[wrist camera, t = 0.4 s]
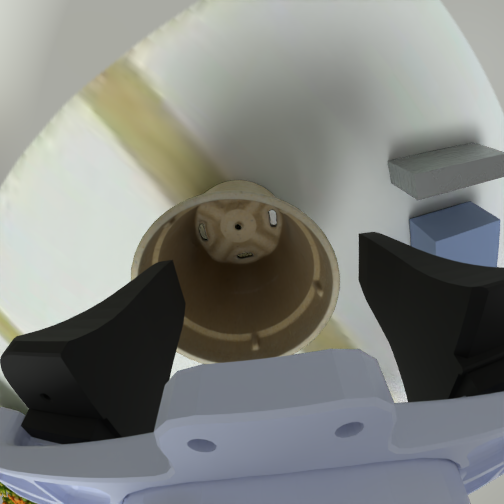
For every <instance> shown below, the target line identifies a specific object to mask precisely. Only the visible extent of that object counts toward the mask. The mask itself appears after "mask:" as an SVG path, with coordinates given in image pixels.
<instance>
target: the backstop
mask: <svg viewBox="0 0 504 504" xmlns="http://www.w3.org/2000/svg"><path fill="white" fill-rule="evenodd" d="M388 166H389V172H390V178H391V183H392V184H394V185H395V186H397V187H398V188H400V189H401V190H403V191H404V192H406V193H407V194H409V195H410V196H412V197H413V198H415V199H416V200H421V199H425V198H428V197H432V196H435V195H439V194H443V193H446V192H450V191H454V190H457V189H461V188H465V187H468V186H472V185H475V184H479V183H483V182H486V181H490V180H494V179H497V178H501V177H504V152H502V151H499V150H496V149H493V148H489V147H486V146H483V145H480V144H477V143H469V144H464V145H459V146H454V147H449V148H444V149H440V150H435V151H430V152H426V153H421V154H417V155H412V156H408V157H403V158H399V159H395V160H391V161H388Z"/></svg>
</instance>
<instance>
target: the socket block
mask: <svg viewBox="0 0 504 504" xmlns="http://www.w3.org/2000/svg"><path fill="white" fill-rule="evenodd" d="M409 222H410V233H411V246H412V247H414V248H416V249H419V250H422V251H424V252H427V253H430V254H433V255H436V256H439V257H443V258H446V259H450V260H453V261H458V262H462V263H468V264H473V265H480V266H488V267H497V259H498V248H499V234H500V219H498V218H497V217H495V216H494V215H492V214H490V213H489V212H487V211H486V210H484V209H482V208H481V207H479V206H477V205H476V204H474V203H472V202H471V201H469V202H466V203H463V204H459V205H456V206H453V207H449V208H446V209H443V210H439V211H436V212H432V213H429V214H426V215H422V216H419V217H415V218H412V219H409Z"/></svg>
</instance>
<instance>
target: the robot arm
mask: <svg viewBox="0 0 504 504" xmlns="http://www.w3.org/2000/svg"><path fill="white" fill-rule="evenodd" d="M359 282H360V285H361V288H362V291H363V293H364V296H365V298H366V300H367V302H368V304H369V306H370V308H371V310H372V312H373V314H374V315H375V317H376V319H377V321H378V323H379V325H380V326H381V328H382V330H383V332H384V334H385V336H386V338H387V340H388V342H389V344H390V346H391V348H392V351H393V354H394V357H395V359H396V362H397V365H398V368H399V371H400V374H401V378H402V381H403V384H404V388H405V391H406V395H407V399H408V402H405V403H394V401H393V399H392V396H391V394H390V391H389V389H388V386H387V384H386V381H385V379H384V376H383V374H382V371H381V369H380V367H379V364H378V362H377V359H375V358H373V357H371V356H370V355H368V354H366V353H365V352H363V351H361V350H360V349H327V350H321V351H315V352H308V353H302V354H295V355H288V356H280V357H272V358H264V359H255V360H246V361H236V362H225V363H214V364H202V365H198V366H195V367H191V368H187V369H183V370H180V371H177V372H176V373H175V374H174V375H173V376H172V378H171V379H170V373H171V369H172V365H173V361H174V357H175V353H176V350H177V346H178V342H179V339H180V335H181V331H182V327H183V323H184V315H185V306H186V303H185V299H184V296H183V293H182V290H181V286H180V283H179V280H178V276H177V273H176V269H175V266H174V263H173V260H168V261H161V262H157V263H155V264H153V265H152V266H150V267H149V268H148V269H146V270H145V271H144V272H142V273H141V274H140V275H138V276H137V277H136V278H134V279H133V280H132V281H130V282H129V283H128V284H127V285H125V286H124V287H122V288H121V289H120V290H118V291H117V292H115V293H114V294H113V295H111V296H110V297H108V298H107V299H105V300H104V301H102V302H101V303H99V304H97V305H95V306H94V307H92V308H90V309H88V310H87V311H85V312H83V313H81V314H78V315H76V316H74V317H72V318H70V319H68V320H66V321H64V322H61V323H59V324H56V325H53V326H51V327H48V328H45V329H42V330H39V331H35V332H32V333H28V334H24V335H21V336H17V337H15V338H14V339H13V341H12V342H11V343H10V345H9V346H8V347H7V349H6V350H5V351H4V353H3V354H2V356H1V359H0V363H1V369H2V371H3V374H4V376H5V378H6V379H7V381H8V382H9V384H10V385H11V387H12V388H13V389H14V390H15V392H16V393H17V394H18V396H19V397H20V398H21V399H22V401H23V402H24V403H25V404H26V406H27V407H28V408H29V410H28V412H27V414H26V416H25V415H24V414H23V413H21V412H19V411H17V410H13V409H9V408H5V407H0V482H1V483H3V484H4V485H5V486H6V487H8V488H9V489H10V490H12V491H13V492H14V493H16V494H17V495H19V496H21V497H23V498H25V499H27V500H30V501H32V502H34V503H37V504H471V503H470V500H469V498H468V495H469V494H470V493H472V492H474V491H476V490H478V489H479V488H481V487H483V486H485V485H486V484H488V483H490V482H491V481H493V480H495V479H496V478H498V477H499V476H501V475H502V474H504V268H499V267H488V266H480V265H473V264H468V263H462V262H458V261H453V260H450V259H446V258H443V257H439V256H436V255H433V254H430V253H427V252H424V251H422V250H419V249H416V248H414V247H411V246H409V245H407V244H404V243H402V242H400V241H397V240H395V239H393V238H390V237H388V236H385V235H383V234H380V233H376V232H369V233H362V234H359ZM169 379H170V380H169Z"/></svg>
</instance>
